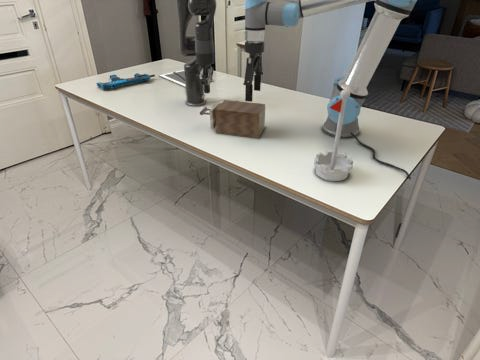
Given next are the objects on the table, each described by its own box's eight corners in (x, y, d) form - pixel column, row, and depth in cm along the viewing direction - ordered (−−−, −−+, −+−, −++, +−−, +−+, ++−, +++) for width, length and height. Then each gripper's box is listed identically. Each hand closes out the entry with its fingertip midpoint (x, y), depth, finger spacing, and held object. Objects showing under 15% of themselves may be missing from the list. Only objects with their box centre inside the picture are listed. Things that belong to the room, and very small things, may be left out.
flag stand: (336, 160, 127) (350, 81, 111) (358, 178, 117) (377, 93, 101) (306, 167, 123) (316, 85, 107) (326, 186, 113) (340, 99, 97)
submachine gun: (140, 68, 226) (159, 74, 209) (142, 73, 228) (160, 80, 211) (89, 77, 207) (104, 85, 190) (90, 84, 209) (106, 92, 192)
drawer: (198, 128, 150) (196, 108, 145) (206, 119, 159) (205, 100, 154) (248, 134, 145) (249, 114, 140) (255, 124, 153) (255, 105, 148)
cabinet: (216, 133, 148) (215, 109, 142) (225, 122, 157) (224, 99, 151) (258, 138, 144) (259, 113, 138) (264, 127, 153) (265, 104, 147)
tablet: (159, 75, 221) (159, 75, 220) (185, 70, 232) (185, 69, 231) (186, 87, 200) (186, 86, 200) (213, 80, 211) (213, 80, 211)
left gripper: (202, 46, 142) (204, 87, 152) (189, 53, 132) (193, 97, 141) (219, 47, 141) (220, 88, 150) (207, 55, 130) (209, 98, 139)
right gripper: (253, 34, 140) (252, 85, 151) (235, 47, 120) (235, 104, 131) (271, 35, 138) (268, 87, 150) (256, 48, 118) (254, 107, 130)
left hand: (207, 92), depth 146 cm, fingers closed
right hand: (253, 95), depth 140 cm, fingers open, 13 cm apart
